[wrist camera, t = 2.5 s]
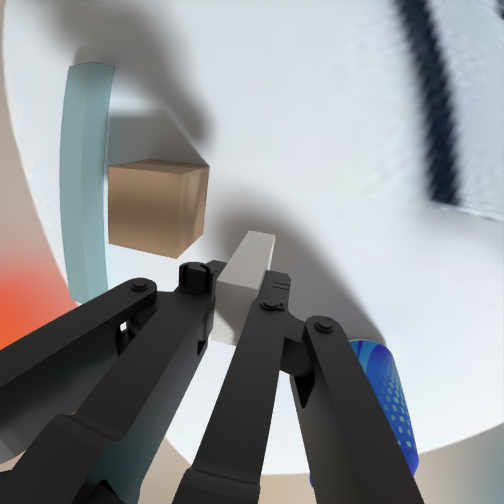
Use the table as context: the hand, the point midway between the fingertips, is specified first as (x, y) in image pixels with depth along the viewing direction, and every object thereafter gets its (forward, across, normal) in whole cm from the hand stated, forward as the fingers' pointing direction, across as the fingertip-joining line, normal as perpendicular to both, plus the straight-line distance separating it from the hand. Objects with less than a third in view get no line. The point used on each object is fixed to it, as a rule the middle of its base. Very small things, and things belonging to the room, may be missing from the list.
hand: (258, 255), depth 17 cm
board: (+8, -18, +1) cm, 20 cm away
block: (+9, -9, +1) cm, 12 cm away
